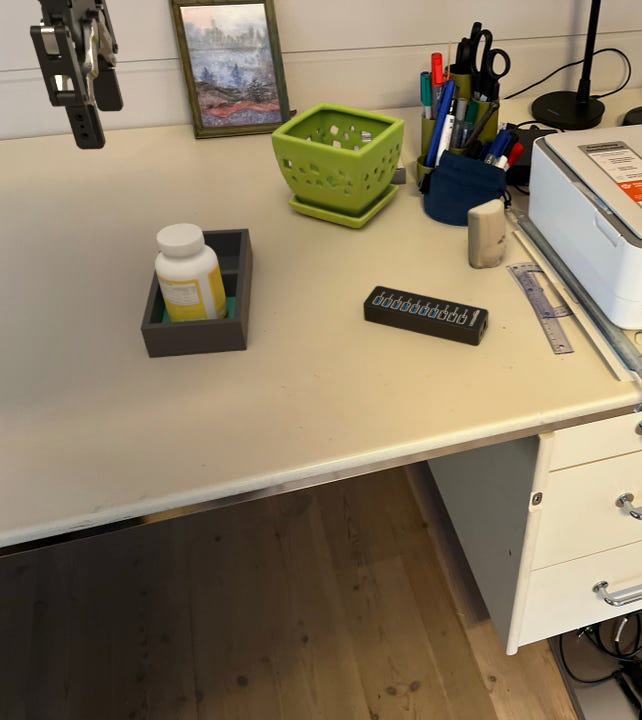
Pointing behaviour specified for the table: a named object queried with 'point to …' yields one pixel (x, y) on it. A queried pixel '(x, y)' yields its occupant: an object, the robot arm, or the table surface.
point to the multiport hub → (426, 315)
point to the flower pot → (339, 162)
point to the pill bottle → (189, 275)
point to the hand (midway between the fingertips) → (102, 128)
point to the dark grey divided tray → (213, 332)
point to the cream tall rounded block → (486, 234)
